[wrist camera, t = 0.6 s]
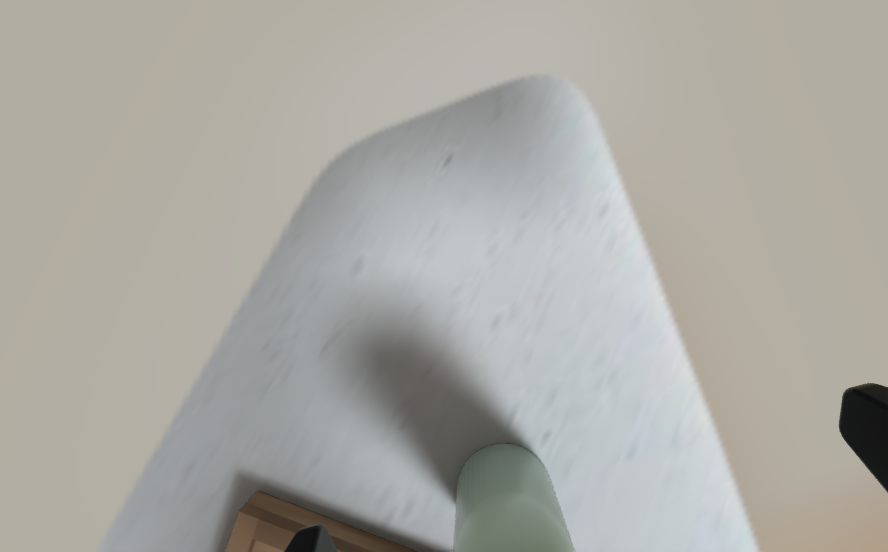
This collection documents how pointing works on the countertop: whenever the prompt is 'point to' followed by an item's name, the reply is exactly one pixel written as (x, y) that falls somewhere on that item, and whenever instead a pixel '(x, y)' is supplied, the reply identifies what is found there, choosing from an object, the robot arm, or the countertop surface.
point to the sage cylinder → (508, 504)
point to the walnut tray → (294, 529)
